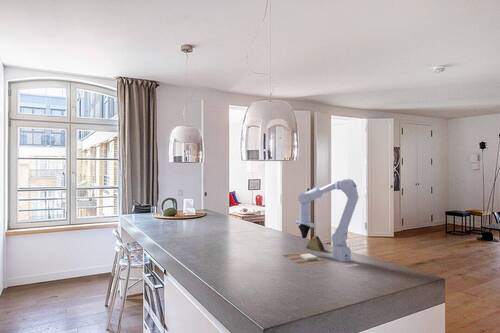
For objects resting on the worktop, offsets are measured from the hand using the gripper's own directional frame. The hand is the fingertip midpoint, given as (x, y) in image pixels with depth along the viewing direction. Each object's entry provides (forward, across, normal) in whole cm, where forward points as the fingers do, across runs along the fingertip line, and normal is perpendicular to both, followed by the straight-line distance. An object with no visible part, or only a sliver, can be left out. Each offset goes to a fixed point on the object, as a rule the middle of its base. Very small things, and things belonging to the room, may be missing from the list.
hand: (304, 238), depth 188 cm
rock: (+10, +6, -13) cm, 17 cm away
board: (+10, -8, +7) cm, 15 cm away
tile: (+8, -6, +5) cm, 11 cm away
